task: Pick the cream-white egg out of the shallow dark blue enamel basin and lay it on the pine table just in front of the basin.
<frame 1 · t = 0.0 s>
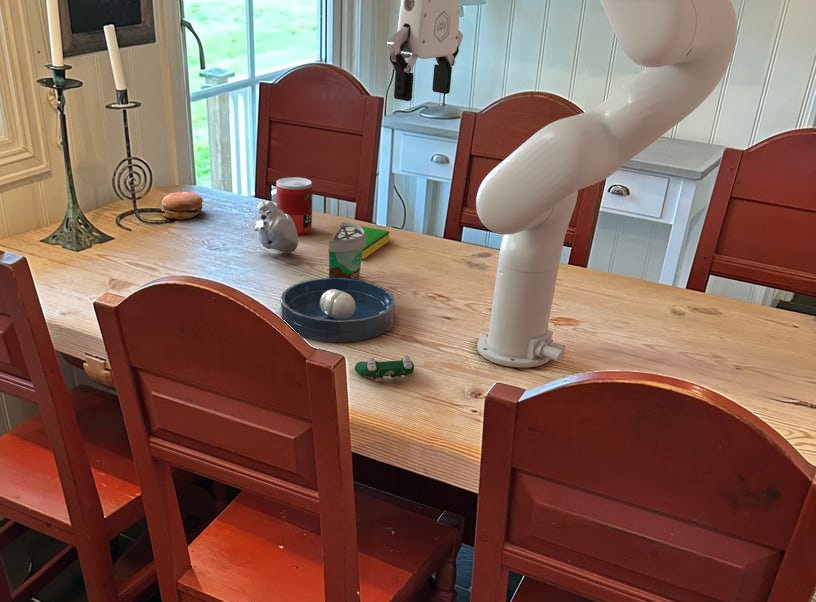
hand: (422, 96, 136), 37 cm above the table, tool pointing down, fingers open, 9 cm apart
food container: (349, 283, 168), on the table
basin: (337, 319, 153), on the table
canned food: (294, 231, 193), on the table
dish sponge: (361, 248, 185), on the table
egg: (337, 304, 151), in the basin
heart: (279, 257, 179), on the table
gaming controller: (385, 378, 134), on the table
burger: (182, 214, 201), on the table
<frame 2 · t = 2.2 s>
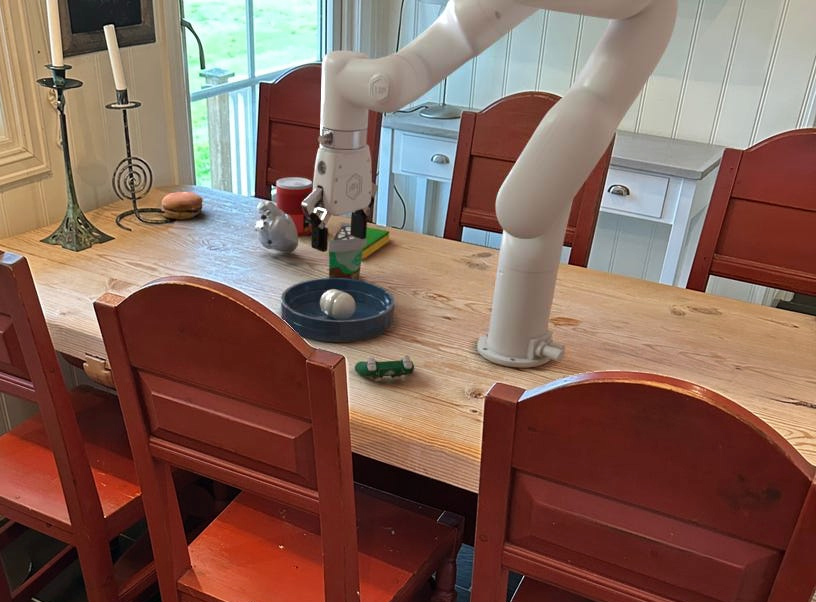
hand: (338, 243, 145), 14 cm above the table, tool pointing down, fingers open, 9 cm apart
nothing on the table moved.
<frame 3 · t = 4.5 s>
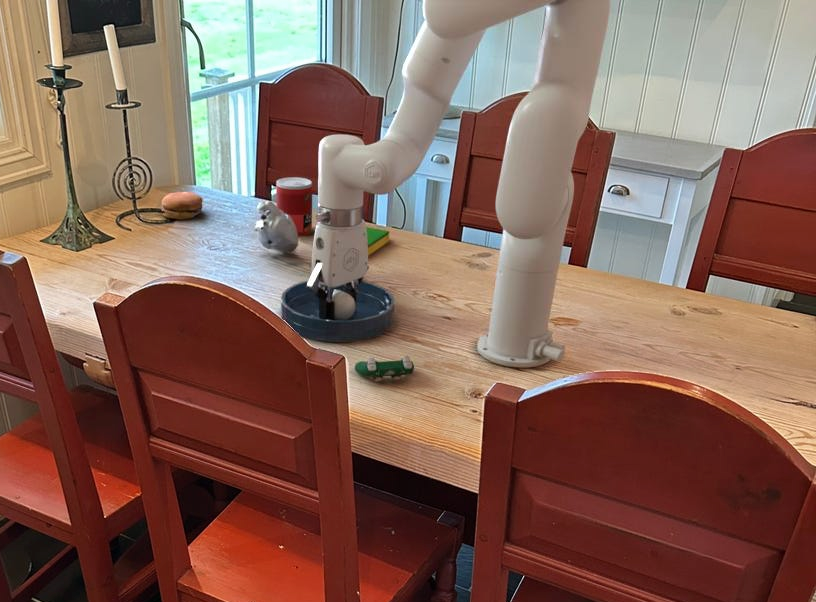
hand: (337, 315, 152), 1 cm above the table, tool pointing down, fingers closed on egg, 5 cm apart
egg: (337, 304, 151), in the basin, touching gripper
everything else where it was.
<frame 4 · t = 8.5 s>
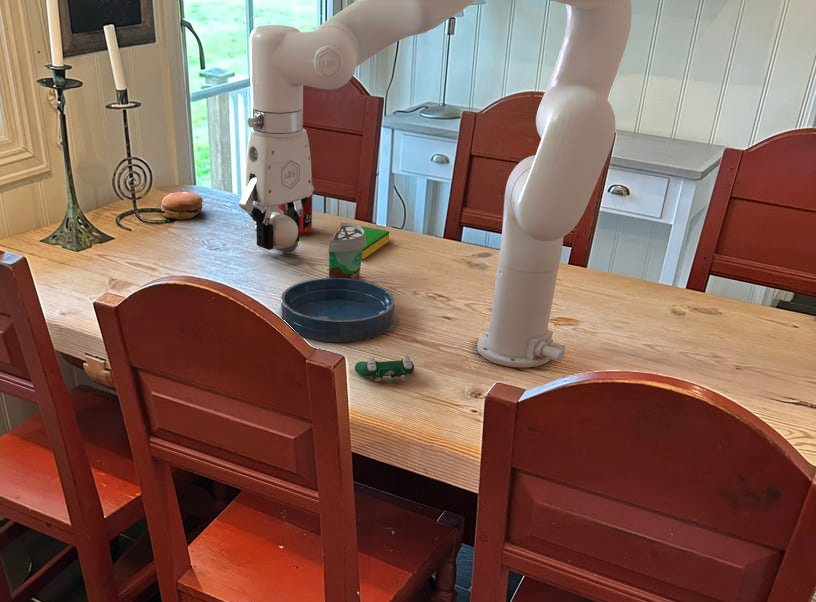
hand: (278, 242, 134), 17 cm above the table, tool pointing down, fingers closed on egg, 5 cm apart
egg: (278, 230, 133), point 19 cm above the table, touching gripper
everything else where it was.
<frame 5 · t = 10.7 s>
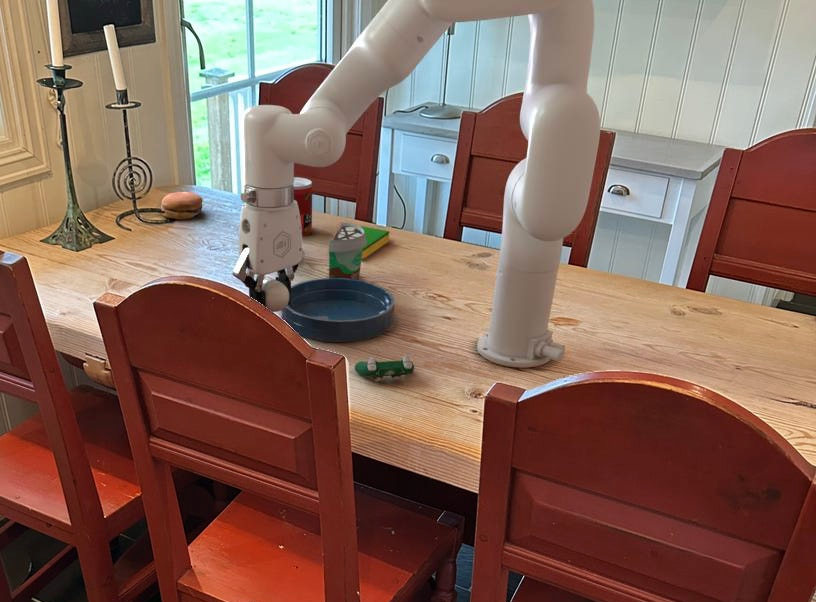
hand: (270, 306, 139), 7 cm above the table, tool pointing down, fingers closed on egg, 5 cm apart
egg: (270, 294, 138), point 9 cm above the table, touching gripper
everything else where it was.
when the fingers open (0 cm above the table, at t = 12.6 s): egg stays where it is, on the table.
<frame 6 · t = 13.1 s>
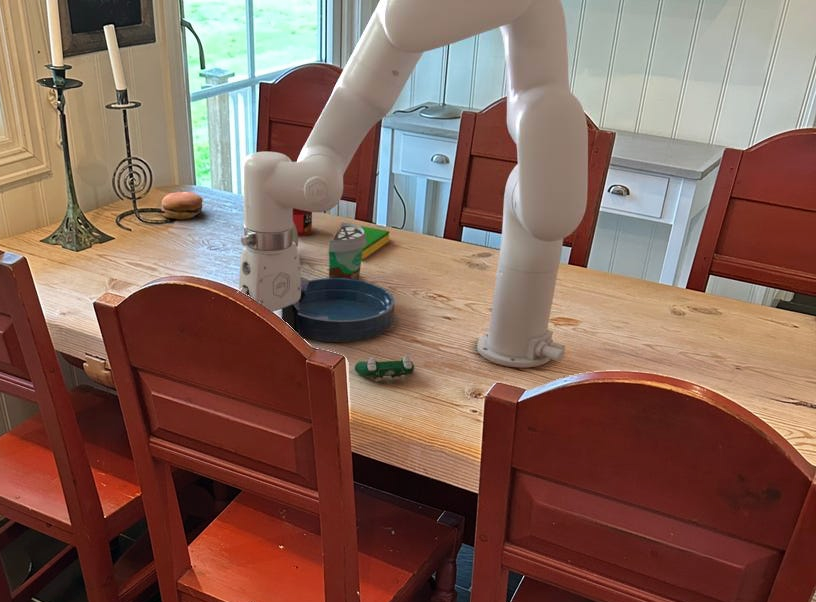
hand: (269, 338, 142), 1 cm above the table, tool pointing down, fingers open, 9 cm apart
egg: (270, 332, 141), on the table, tilted 5°
everything else where it was.
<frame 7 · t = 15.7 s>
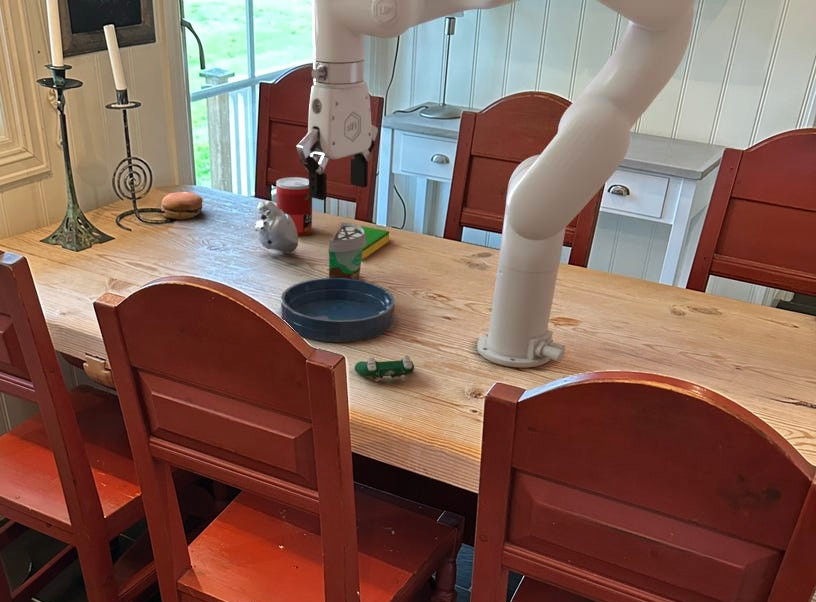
hand: (338, 191, 134), 24 cm above the table, tool pointing down, fingers open, 9 cm apart
egg: (264, 334, 141), on the table, tilted 34°
everything else where it was.
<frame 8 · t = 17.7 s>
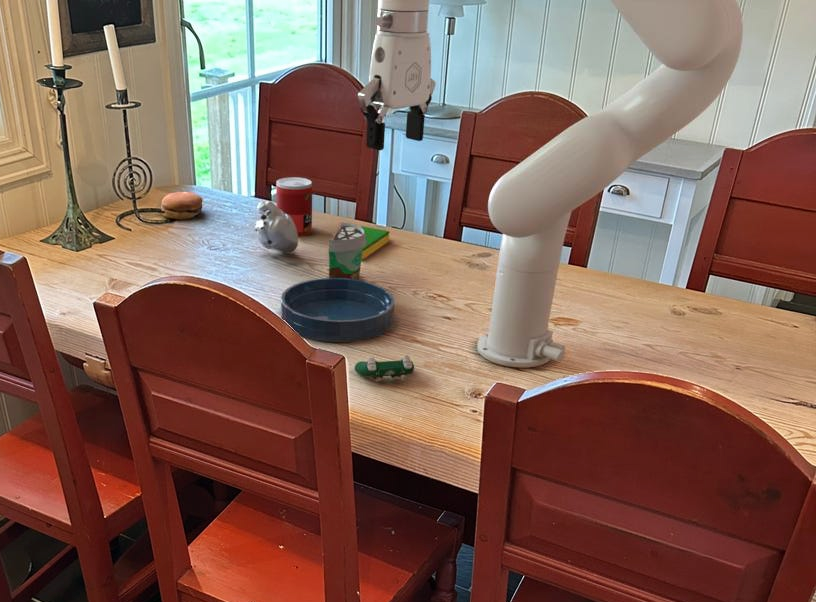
hand: (394, 143, 136), 30 cm above the table, tool pointing down, fingers open, 9 cm apart
egg: (260, 335, 140), on the table, tilted 54°
everything else where it was.
at the end: egg inside the target area (1.0 cm from its centre), point 2.5 cm above the table; egg touching table; the gripper is holding nothing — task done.
